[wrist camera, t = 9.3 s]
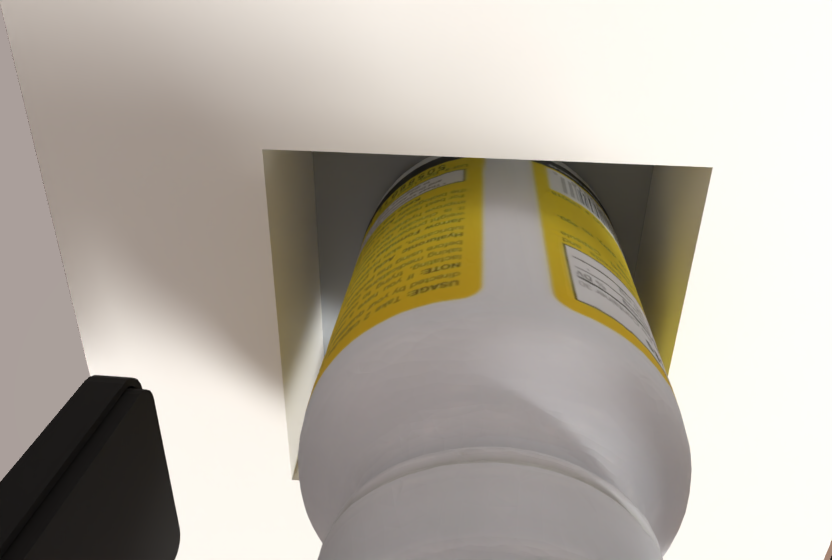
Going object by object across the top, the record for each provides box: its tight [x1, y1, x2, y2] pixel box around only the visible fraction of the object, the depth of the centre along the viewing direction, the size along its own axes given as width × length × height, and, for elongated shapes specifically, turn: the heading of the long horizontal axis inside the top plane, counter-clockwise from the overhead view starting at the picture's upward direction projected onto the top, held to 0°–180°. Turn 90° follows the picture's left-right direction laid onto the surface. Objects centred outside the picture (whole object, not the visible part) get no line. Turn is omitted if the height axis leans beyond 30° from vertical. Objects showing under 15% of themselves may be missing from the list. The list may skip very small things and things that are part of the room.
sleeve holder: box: [0, 0, 832, 560], centre depth 15 cm, size 15×15×4 cm
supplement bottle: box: [298, 156, 692, 560], centre depth 12 cm, size 5×5×10 cm
